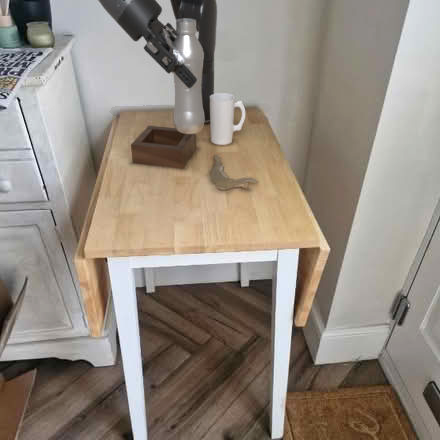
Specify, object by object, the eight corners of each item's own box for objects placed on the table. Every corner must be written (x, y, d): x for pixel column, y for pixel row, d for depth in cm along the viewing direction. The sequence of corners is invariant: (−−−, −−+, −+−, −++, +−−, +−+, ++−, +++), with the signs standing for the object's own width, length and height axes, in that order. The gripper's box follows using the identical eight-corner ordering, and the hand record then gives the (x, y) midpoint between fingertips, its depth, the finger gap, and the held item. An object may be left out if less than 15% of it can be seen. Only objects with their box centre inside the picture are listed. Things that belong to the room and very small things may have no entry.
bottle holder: (150, 143, 121) (148, 125, 118) (196, 148, 119) (196, 130, 116) (133, 163, 111) (130, 144, 108) (183, 168, 109) (182, 149, 106)
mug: (211, 146, 120) (211, 101, 112) (208, 136, 125) (208, 93, 117) (246, 144, 121) (249, 100, 113) (241, 135, 126) (243, 92, 118)
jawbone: (226, 199, 98) (226, 192, 97) (187, 166, 112) (186, 159, 110) (259, 188, 101) (259, 180, 100) (217, 157, 115) (216, 149, 113)
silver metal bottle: (180, 139, 87) (175, 25, 73) (169, 127, 91) (162, 17, 78) (209, 135, 89) (210, 22, 75) (197, 123, 93) (195, 15, 80)
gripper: (130, -8, 69) (204, 75, 76) (152, -19, 79) (215, 55, 86) (104, 28, 72) (176, 105, 80) (127, 13, 83) (189, 82, 90)
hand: (196, 79), depth 83 cm, fingers closed on silver metal bottle, 6 cm apart
